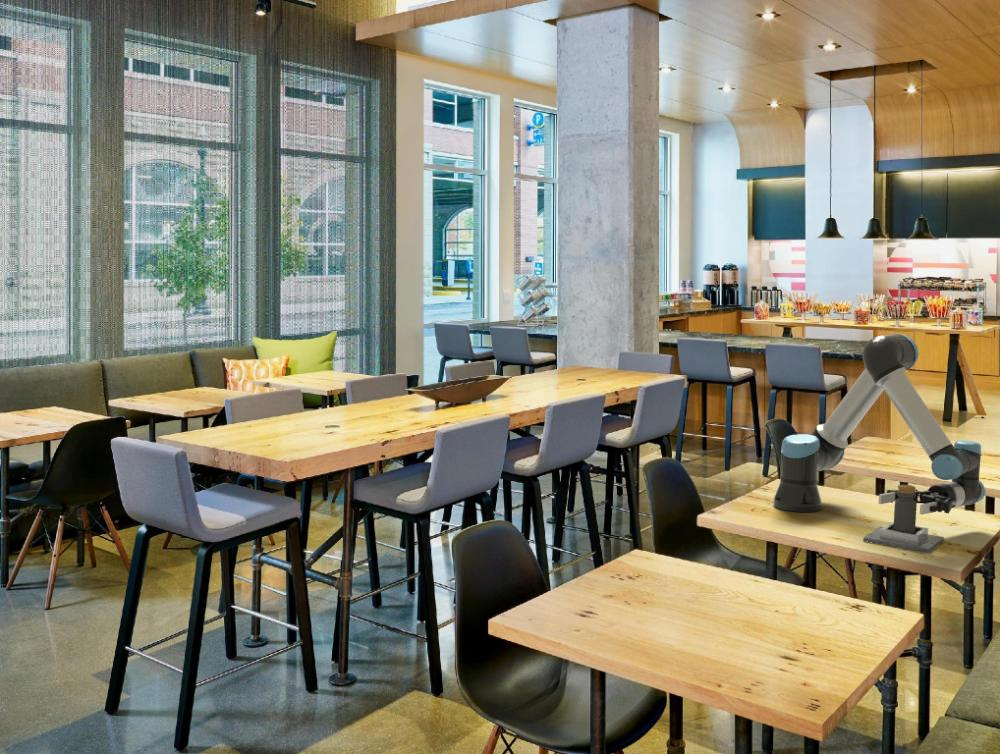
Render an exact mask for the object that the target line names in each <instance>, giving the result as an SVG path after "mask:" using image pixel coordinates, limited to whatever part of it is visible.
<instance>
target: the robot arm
mask: <svg viewBox="0 0 1000 754" xmlns="http://www.w3.org/2000/svg"><path fill="white" fill-rule="evenodd" d="M861 357H862V361H863V365H864V370H863V371H862V372H861V374H860V375H858V377H857V379H856V381H855V382H854V383H853V385H852V386H851V387H850V389H849V390H848V392H847V393H846V394H845V396H843V398H842V400H841V401H840V402H839V404H837V407H836V408H835V409H834V410H833V412H832V413H831V414H830V415H829V417H828V419H826V421H825V423H821V424H817V426H816V427H815V428H814V430H813V431H812V432H811V434H807V433H805V434H803V433H799V434H791V435H788V436H786V437H784V438H783V440H782V442H781V447H780V449H781V450H780V452H781V455H780V456H781V457H780V481H779V484H778V487H777V490H776V493H775V495H774V497H773V507H775V508H777V509H779V510H783V511H788V512H795V513H814V512H819V511H821V510H822V504H823V503H822V498H821V495H820V491H819V487H818V477H819V475H818V474H819V472H822V471H824V470H830V469H832V468H834V467H835V466H837V465H839V464H840V462H842V460H843V459H844V456H845V450H846V449H847V448H848V445H849V444H848V438H849V437H850V435H851V434H852V433H853V432H854V430H855V429H856V427H857V426H858V425H859V424H860V422H861V421H862V420H863V418H864V417H865V416H866V414H867V413H868V412H869V410H870V409H871V408H872V406H873V405H874V404H875V403H876V401H877V400H878V399H879V397H880V396H881V394H882V393H883V392H885V394H886V395H887V397H888V398H889V400H890V401H891V402H892V404H893V405H894V408H895V409H896V410H897V412H898V413H899V414H900V416H901V417H902V419H903V420H904V422H905V424H906V425H907V426H908V428H909V429H910V431H911V433H912V434H913V436H914V437H915V439H916V440H917V442H919V445H920V446H921V448H922V449H923V451H924V452H925V453H926V454H927V456H928V458H929V460H930V461H931V465H930V466H931V471H932V474H933V475H934V476H935V477H936V478H937V479H939V480H941V481H949V482H944V483H938V484H934V485H931V486H930V487H929V488H928V489H927V490H924V491H923V490H922V491H920V490H918V489H917V488H915V491H914V493H916V497H914V498H913V500H915V501H916V502H917V504H920V505H919V515H927V514H932V513H936V512H938V513H942V512H943V513H944V514H949V513H950V512H951V510H952V509H954V508H958V507H961V506H962V507H963V506H970V505H973V504H976V503H979V502H980V501H982V500H983V499H984V498H985V494H986V488H985V486H984V483H983V482H981V480H980V471H981V470H980V468H981V457H982V446H981V444H980V443H979V442H977V441H973V440H972V441H971V440H956V441H954V444H953V443H952V442H951V440H950V438H949V437H948V436H947V434H946V433H945V431H944V430H943V428H942V427H941V425H940V424H939V423H938V421H937V419H936V418H935V416H934V415H933V414H932V412H931V410H930V409H929V408H928V406H927V405H926V403H925V402H924V400H923V399H922V398H921V396H920V394H919V393H918V392H917V390H916V389H915V387H914V386H913V384H912V382H911V381H910V380H909V377H908V376H907V375H906V374H905V371H908V370H910V369H911V368H912V367H914V366H915V365H916V363H917V361H918V359H919V349H918V346H917V344H916V342H915V341H914V340H913V339H912V338H911V337H910V336H908V335H905V334H900V333H893V334H888V335H887V334H885V335H877V336H875V337H872V338H870V339H869V340H868V341H867V342H866V343H865V345H864V346H863V350H862V355H861ZM950 480H951V481H950ZM897 491H899V490H898V489H887V490H886V493H880V494H878V505H883V504H885V505H886V504H890V503H892V504H893V503H895V500H896V499H898V498H899V496H897Z"/></svg>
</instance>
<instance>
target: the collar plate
mask: <svg viewBox="0 0 1000 754" xmlns="http://www.w3.org/2000/svg"><path fill="white" fill-rule="evenodd" d="M893 526H894V521H891V522H889V523H888V524H886V525H884V526H881V525H880V526H878V527H877V528H876V529H873V531H871V532H869V533H868V534H866V535H865V536H863V540H862V542H864V541H868V542H867V543H870V542H872V543H871V544H875V543H877V545H881V544H883V545H882V546H886V545H887V547H893V548H897V547H898V548H899V549H904V550H907V551H908V550H909V551H913V552H920V553H924V554H930V553H931V552H932V551H933V550H935V549H936V548H937V547H938V546H940V543H941V544H942V543H943V542H944V541H945V536H939V535H935V534H929V528H928V527H923V526H918V525H917V526H916V525H915V534H911V533H906V532H900V531H894V530H893Z"/></svg>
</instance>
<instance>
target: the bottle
mask: <svg viewBox="0 0 1000 754" xmlns="http://www.w3.org/2000/svg"><path fill="white" fill-rule="evenodd" d="M915 489H916V486H914V485H912V484H911V485H909V484H899V485H897V490H899V491H897V496H899V498H898V499H896V500H895V502H894V510H893V511H894V512H893V522H894V526H893V530H894V531H900V532H906V533H911V534H915V526H916V523H917V508H918V507H917V506H918V505H917V504H918V503H917V502H916V501H915V500H913V498H914V497H916V493H914V491H915Z"/></svg>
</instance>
